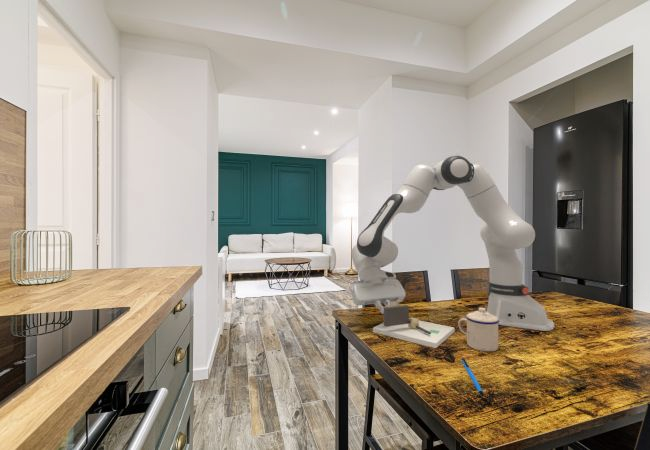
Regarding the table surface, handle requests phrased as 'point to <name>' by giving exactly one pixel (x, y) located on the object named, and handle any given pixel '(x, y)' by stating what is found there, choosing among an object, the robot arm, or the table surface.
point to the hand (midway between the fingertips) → (386, 312)
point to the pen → (472, 377)
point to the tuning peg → (400, 317)
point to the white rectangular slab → (417, 333)
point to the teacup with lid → (481, 330)
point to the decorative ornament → (394, 303)
